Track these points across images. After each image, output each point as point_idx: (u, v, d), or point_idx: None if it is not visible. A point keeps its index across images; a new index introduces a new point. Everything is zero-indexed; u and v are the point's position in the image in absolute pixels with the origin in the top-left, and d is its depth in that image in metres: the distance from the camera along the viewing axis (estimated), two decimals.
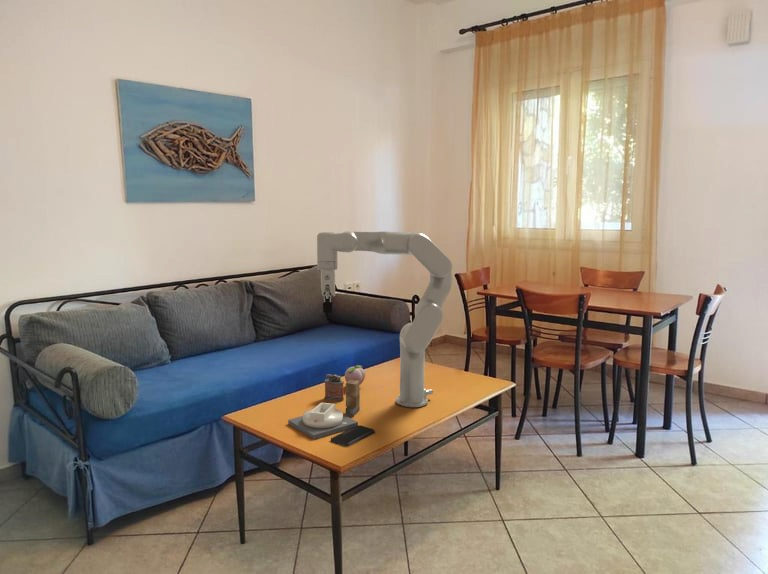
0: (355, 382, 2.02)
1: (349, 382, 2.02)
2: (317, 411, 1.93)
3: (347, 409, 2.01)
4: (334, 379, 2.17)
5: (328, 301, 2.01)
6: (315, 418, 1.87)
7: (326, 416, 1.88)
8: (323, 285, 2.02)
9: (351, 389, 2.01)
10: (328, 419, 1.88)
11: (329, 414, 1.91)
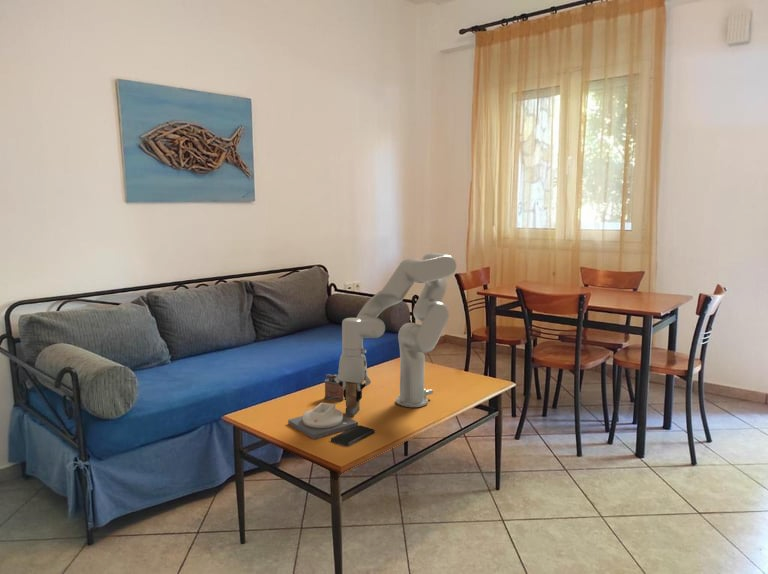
0: None
1: (349, 382, 2.02)
2: (317, 411, 1.93)
3: (347, 409, 2.01)
4: (334, 379, 2.17)
5: None
6: (315, 418, 1.87)
7: (326, 416, 1.88)
8: (363, 372, 1.99)
9: (351, 389, 2.01)
10: (328, 419, 1.88)
11: (329, 414, 1.91)
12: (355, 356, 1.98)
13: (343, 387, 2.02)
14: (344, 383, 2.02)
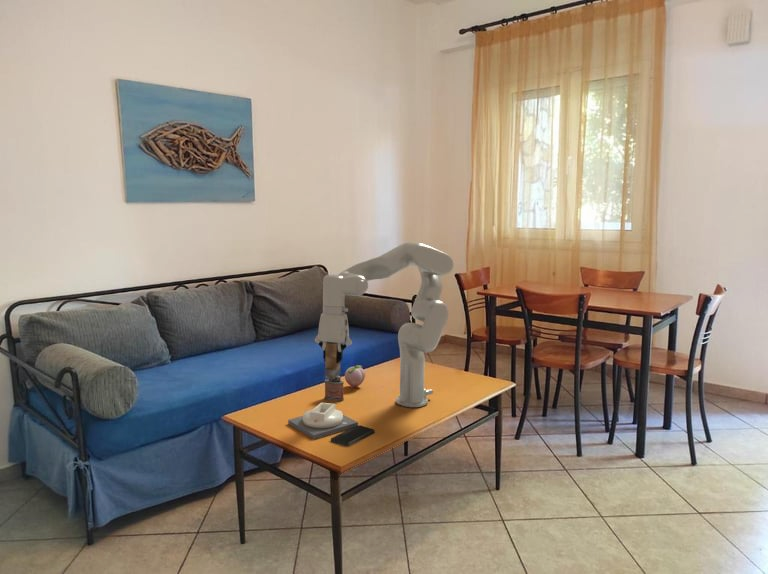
0: None
1: None
2: (317, 411, 1.93)
3: (326, 370, 1.91)
4: (334, 379, 2.17)
5: (342, 350, 1.93)
6: (315, 418, 1.87)
7: (326, 416, 1.88)
8: (344, 331, 1.90)
9: (331, 349, 1.91)
10: (328, 419, 1.88)
11: (329, 414, 1.91)
12: (336, 314, 1.88)
13: (323, 348, 1.93)
14: (324, 343, 1.92)
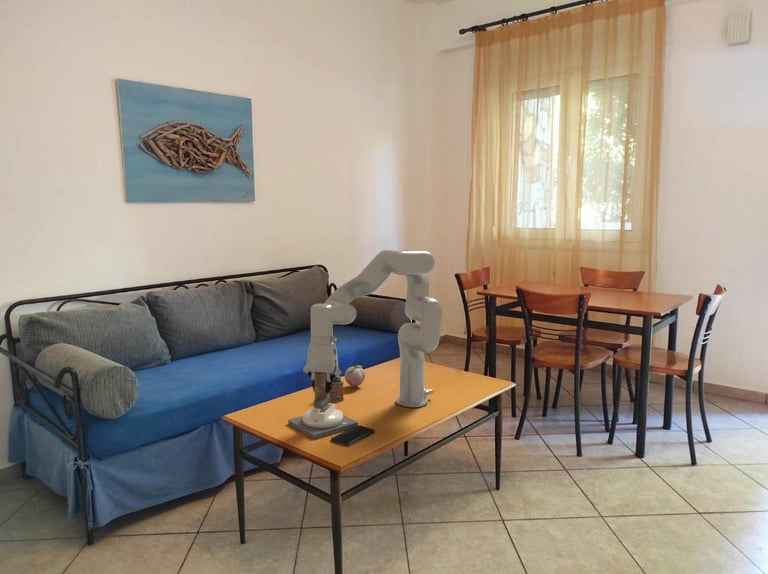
0: None
1: None
2: (317, 411, 1.93)
3: (316, 401, 1.88)
4: (334, 379, 2.17)
5: None
6: (315, 418, 1.87)
7: (326, 416, 1.88)
8: (333, 361, 1.87)
9: (320, 379, 1.88)
10: (328, 419, 1.88)
11: (329, 414, 1.91)
12: (324, 344, 1.85)
13: (312, 378, 1.90)
14: (313, 373, 1.89)
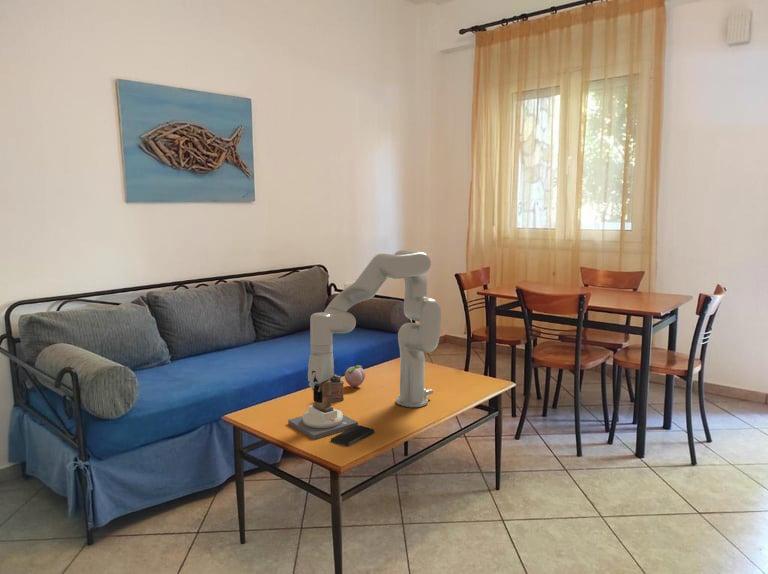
0: (326, 380, 1.91)
1: (322, 382, 1.89)
2: None
3: (328, 410, 1.89)
4: (334, 379, 2.17)
5: None
6: (329, 418, 1.88)
7: None
8: None
9: (327, 388, 1.89)
10: None
11: None
12: (332, 350, 1.90)
13: (319, 389, 1.87)
14: (320, 384, 1.87)
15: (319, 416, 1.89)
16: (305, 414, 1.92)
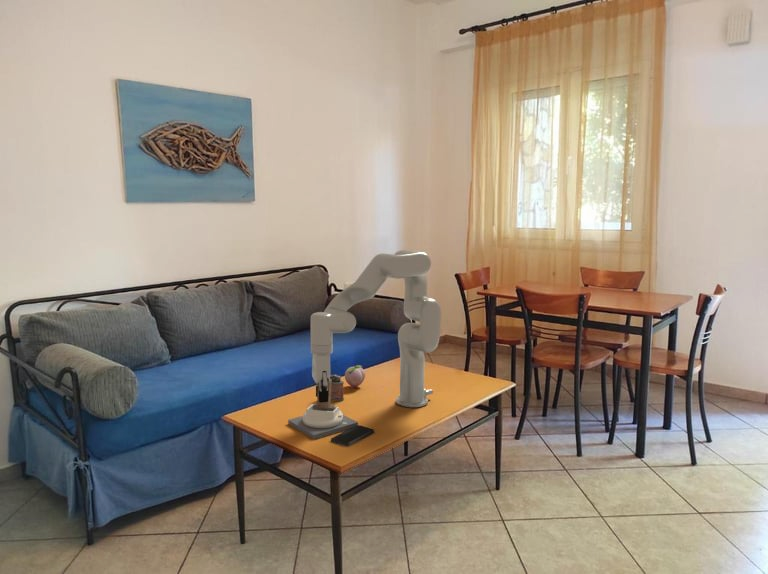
0: None
1: None
2: None
3: (333, 408, 1.91)
4: (334, 379, 2.17)
5: None
6: (336, 415, 1.90)
7: None
8: None
9: (330, 387, 1.91)
10: None
11: None
12: None
13: None
14: None
15: (325, 415, 1.89)
16: (307, 418, 1.89)
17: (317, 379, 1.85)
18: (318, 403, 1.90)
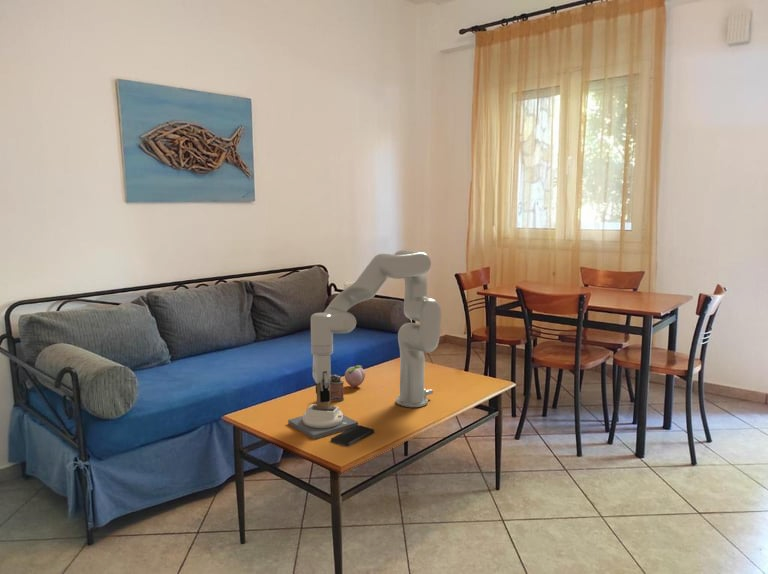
0: None
1: None
2: None
3: (333, 409, 1.90)
4: (334, 379, 2.17)
5: None
6: (336, 415, 1.90)
7: None
8: None
9: (329, 388, 1.91)
10: None
11: None
12: None
13: None
14: None
15: (325, 415, 1.89)
16: (307, 418, 1.89)
17: (317, 379, 1.85)
18: (318, 404, 1.90)
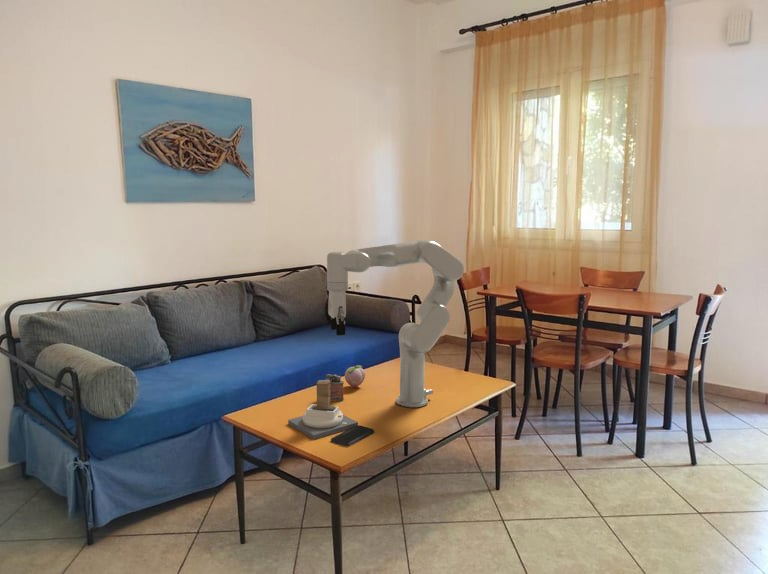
0: (324, 380, 1.91)
1: (325, 382, 1.89)
2: None
3: (333, 409, 1.90)
4: (334, 379, 2.17)
5: None
6: (336, 415, 1.90)
7: None
8: None
9: (329, 388, 1.91)
10: None
11: None
12: None
13: None
14: None
15: (325, 415, 1.89)
16: (307, 418, 1.89)
17: (334, 314, 1.96)
18: (318, 404, 1.90)
